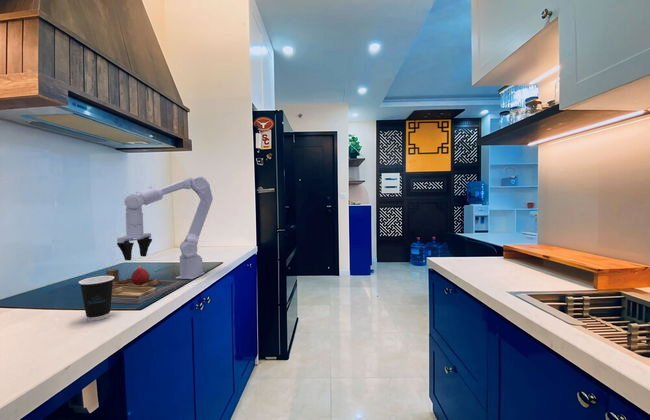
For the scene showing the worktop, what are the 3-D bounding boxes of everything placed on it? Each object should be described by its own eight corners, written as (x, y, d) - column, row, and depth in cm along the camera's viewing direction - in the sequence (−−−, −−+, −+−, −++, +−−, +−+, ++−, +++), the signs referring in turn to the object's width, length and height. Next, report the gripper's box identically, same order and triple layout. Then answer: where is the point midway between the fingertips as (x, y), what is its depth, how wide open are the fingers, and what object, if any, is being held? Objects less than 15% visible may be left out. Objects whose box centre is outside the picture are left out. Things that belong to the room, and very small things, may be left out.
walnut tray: (119, 283, 115) (118, 267, 114) (159, 284, 112) (158, 268, 112) (99, 289, 106) (98, 272, 106) (141, 291, 103) (141, 274, 103)
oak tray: (113, 291, 104) (112, 274, 103) (157, 293, 101) (156, 275, 101) (90, 300, 95) (89, 280, 95) (137, 302, 92) (137, 282, 92)
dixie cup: (104, 310, 86) (103, 274, 86) (122, 313, 83) (120, 276, 83) (73, 320, 79) (72, 281, 78) (91, 325, 76) (90, 284, 76)
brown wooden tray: (146, 283, 114) (146, 279, 114) (180, 285, 112) (180, 281, 111) (97, 302, 94) (97, 297, 94) (138, 304, 91) (138, 299, 91)
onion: (143, 289, 105) (142, 267, 105) (127, 289, 105) (126, 268, 105) (152, 284, 111) (152, 264, 111) (138, 284, 111) (137, 264, 111)
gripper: (140, 223, 121) (141, 254, 122) (109, 226, 107) (111, 261, 107) (155, 223, 120) (156, 254, 121) (126, 226, 106) (127, 262, 106)
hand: (135, 258), depth 114 cm, fingers open, 7 cm apart
